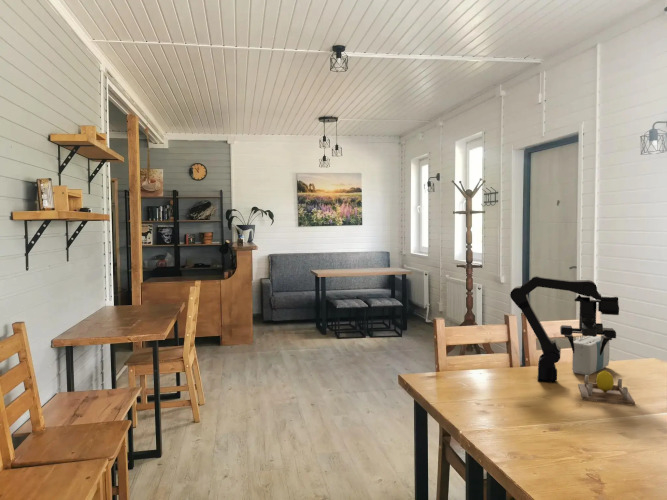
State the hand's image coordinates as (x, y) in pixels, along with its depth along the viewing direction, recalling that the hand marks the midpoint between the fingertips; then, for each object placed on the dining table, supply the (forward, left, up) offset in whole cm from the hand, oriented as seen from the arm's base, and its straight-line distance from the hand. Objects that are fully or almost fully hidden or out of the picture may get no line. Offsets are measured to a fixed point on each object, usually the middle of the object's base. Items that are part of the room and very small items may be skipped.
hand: (586, 353), depth 194 cm
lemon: (+5, -11, -11) cm, 16 cm away
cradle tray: (+5, -11, -12) cm, 17 cm away
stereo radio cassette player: (+4, +22, -12) cm, 26 cm away
